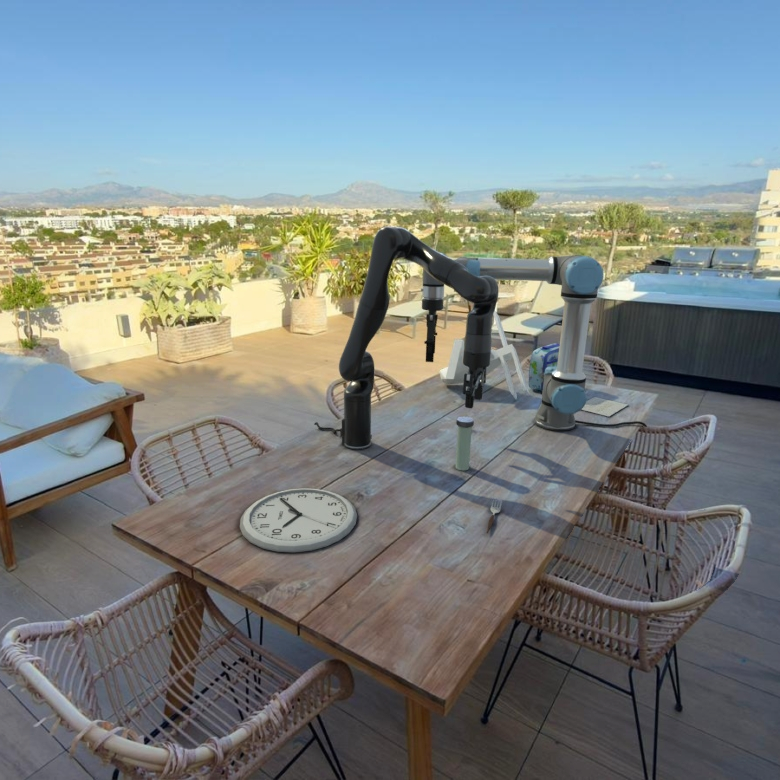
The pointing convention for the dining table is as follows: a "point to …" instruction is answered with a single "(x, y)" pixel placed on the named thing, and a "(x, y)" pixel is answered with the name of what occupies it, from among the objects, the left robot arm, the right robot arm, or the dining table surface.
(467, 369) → the white plastic object
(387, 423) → the dining table surface
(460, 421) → the lid
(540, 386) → the lunch box
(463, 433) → the bottle
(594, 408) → the invitation card
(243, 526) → the wall clock
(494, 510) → the fork
